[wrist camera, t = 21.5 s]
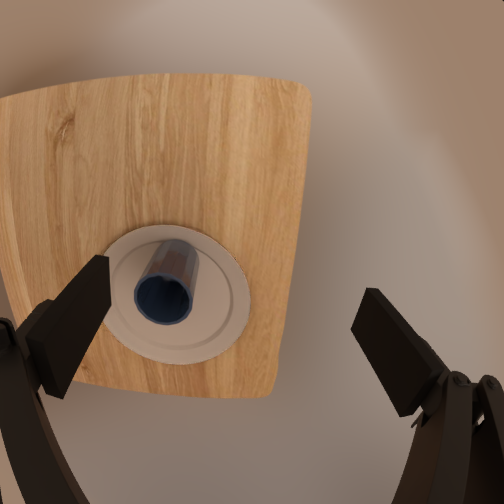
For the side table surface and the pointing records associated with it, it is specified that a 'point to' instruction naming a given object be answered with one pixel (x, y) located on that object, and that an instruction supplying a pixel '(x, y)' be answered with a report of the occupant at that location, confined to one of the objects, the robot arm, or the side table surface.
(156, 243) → the plate
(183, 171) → the side table surface
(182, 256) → the tumbler
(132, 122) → the side table surface
